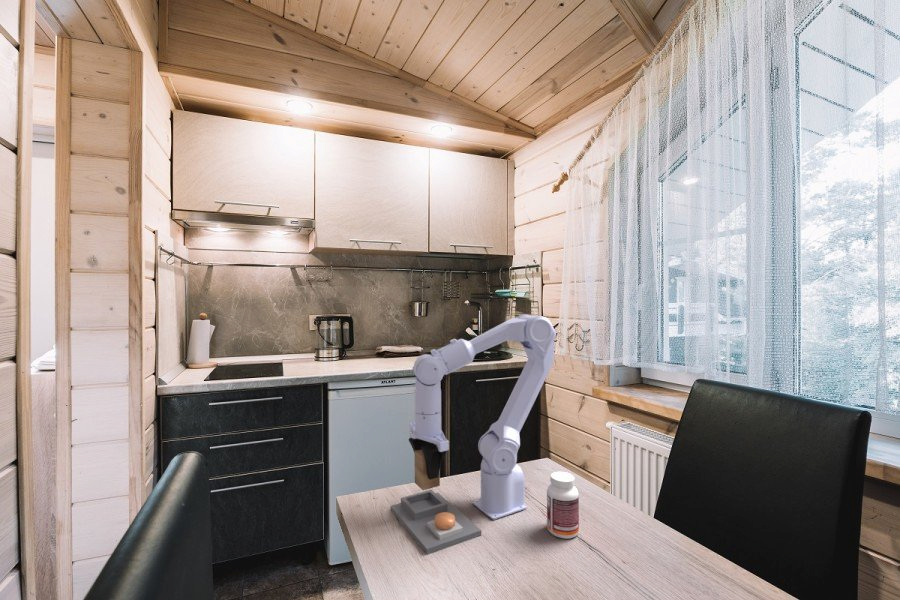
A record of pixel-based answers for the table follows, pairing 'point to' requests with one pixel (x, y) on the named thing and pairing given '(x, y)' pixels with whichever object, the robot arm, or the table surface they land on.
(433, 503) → the loading station
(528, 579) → the table surface
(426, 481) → the block
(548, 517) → the pill bottle
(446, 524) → the button
